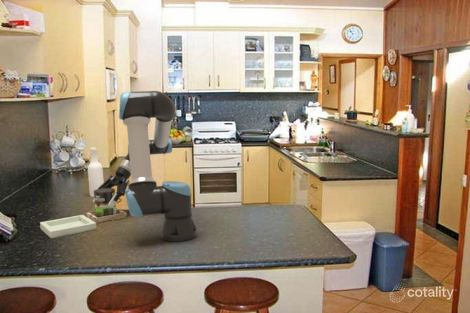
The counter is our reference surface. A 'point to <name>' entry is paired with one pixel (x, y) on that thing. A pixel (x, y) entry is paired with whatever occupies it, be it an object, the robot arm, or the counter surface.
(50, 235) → the tray
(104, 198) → the coffee can
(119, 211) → the collar
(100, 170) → the alcohol
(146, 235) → the counter surface
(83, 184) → the counter surface
